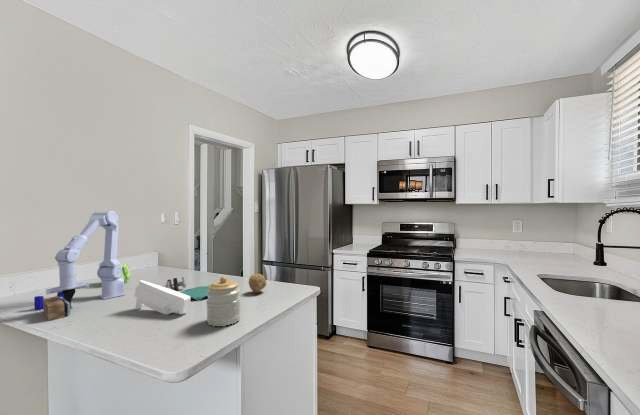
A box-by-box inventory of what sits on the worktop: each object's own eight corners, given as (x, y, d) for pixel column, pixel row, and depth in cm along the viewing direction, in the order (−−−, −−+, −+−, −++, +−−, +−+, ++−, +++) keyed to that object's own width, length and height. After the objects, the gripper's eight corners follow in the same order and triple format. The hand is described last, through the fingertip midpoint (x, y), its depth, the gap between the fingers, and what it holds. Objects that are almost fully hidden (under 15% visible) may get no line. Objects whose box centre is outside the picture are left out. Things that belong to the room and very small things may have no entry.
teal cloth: (170, 298, 151) (170, 293, 151) (216, 284, 177) (216, 280, 177) (197, 304, 142) (197, 299, 142) (242, 288, 168) (241, 283, 168)
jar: (221, 330, 110) (221, 282, 110) (199, 323, 117) (198, 278, 117) (247, 318, 121) (247, 275, 121) (226, 312, 128) (225, 271, 128)
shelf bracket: (142, 307, 138) (146, 278, 137) (188, 325, 130) (193, 295, 129) (130, 311, 133) (134, 282, 132) (178, 331, 124) (182, 299, 123)
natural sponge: (258, 289, 163) (258, 271, 163) (270, 291, 158) (269, 272, 158) (245, 293, 156) (245, 274, 156) (257, 296, 151) (256, 276, 151)
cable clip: (58, 301, 148) (58, 289, 148) (66, 301, 147) (66, 289, 147) (31, 310, 136) (31, 296, 136) (40, 310, 135) (39, 297, 135)
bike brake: (189, 287, 166) (167, 288, 176) (188, 275, 166) (165, 277, 176) (167, 294, 154) (144, 295, 164) (165, 281, 154) (142, 283, 164)
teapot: (96, 288, 170) (95, 266, 170) (99, 283, 182) (99, 262, 182) (129, 284, 178) (129, 263, 178) (131, 279, 190) (130, 259, 190)
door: (64, 306, 138) (63, 296, 138) (72, 314, 128) (72, 302, 128) (59, 307, 137) (59, 297, 137) (67, 315, 127) (67, 303, 127)
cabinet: (58, 309, 136) (57, 295, 136) (64, 317, 126) (64, 303, 126) (43, 312, 133) (43, 298, 132) (48, 321, 122) (48, 306, 122)
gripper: (47, 281, 125) (48, 313, 125) (90, 274, 136) (91, 304, 136) (45, 278, 130) (45, 309, 130) (86, 272, 141) (87, 301, 141)
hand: (68, 306), depth 133 cm, fingers closed
